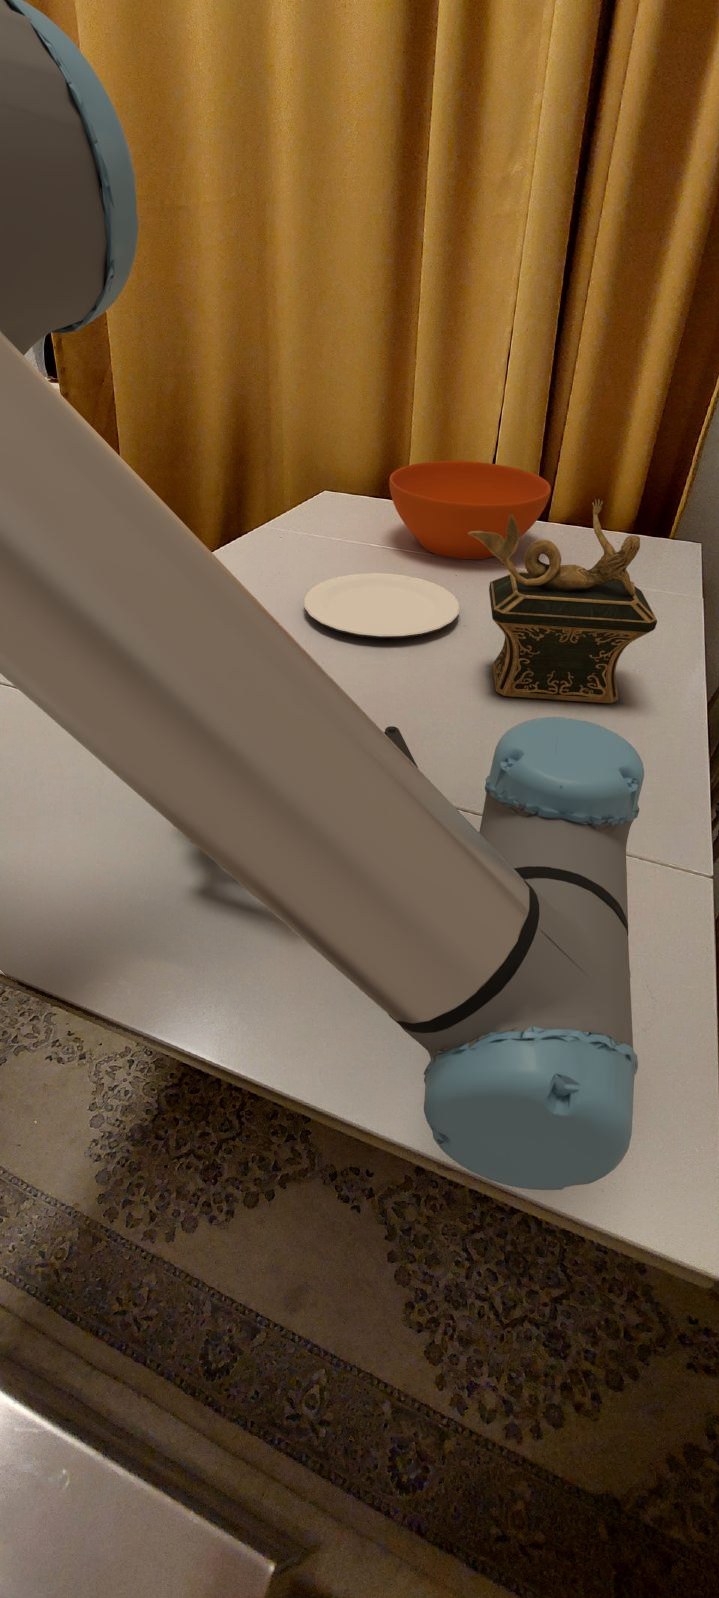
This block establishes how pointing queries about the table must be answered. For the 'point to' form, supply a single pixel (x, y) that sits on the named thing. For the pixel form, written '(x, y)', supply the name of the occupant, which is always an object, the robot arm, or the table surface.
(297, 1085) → the table surface
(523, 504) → the bowl
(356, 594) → the plate
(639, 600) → the decorative box
